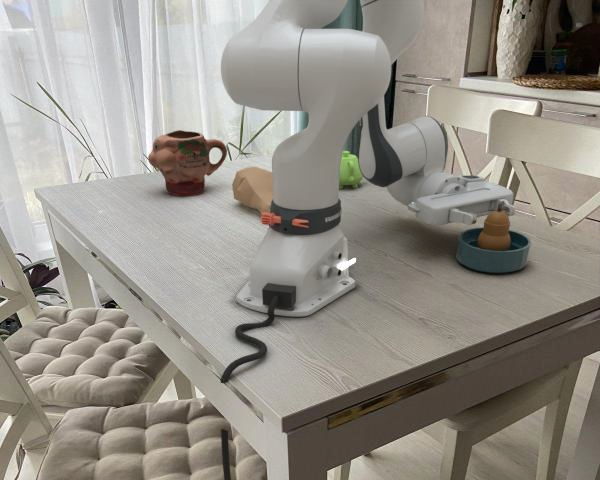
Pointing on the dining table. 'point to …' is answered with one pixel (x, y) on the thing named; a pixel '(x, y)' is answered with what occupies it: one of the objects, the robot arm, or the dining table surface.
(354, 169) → the teapot
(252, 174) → the squash
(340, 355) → the dining table surface
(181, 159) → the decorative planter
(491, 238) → the pear
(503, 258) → the bowl
